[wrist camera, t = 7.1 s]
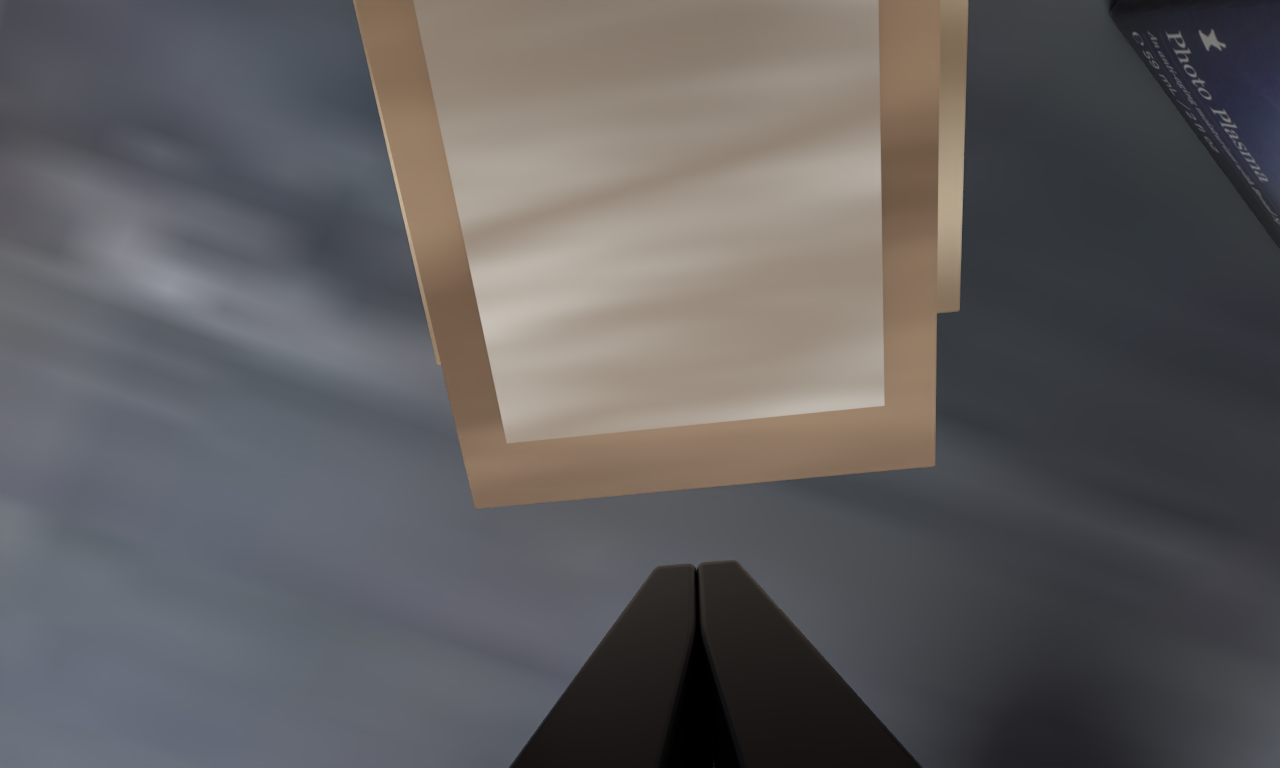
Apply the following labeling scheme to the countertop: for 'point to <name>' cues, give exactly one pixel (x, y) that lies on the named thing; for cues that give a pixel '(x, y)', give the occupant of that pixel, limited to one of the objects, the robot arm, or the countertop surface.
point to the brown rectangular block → (671, 234)
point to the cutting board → (948, 164)
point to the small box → (1220, 83)
